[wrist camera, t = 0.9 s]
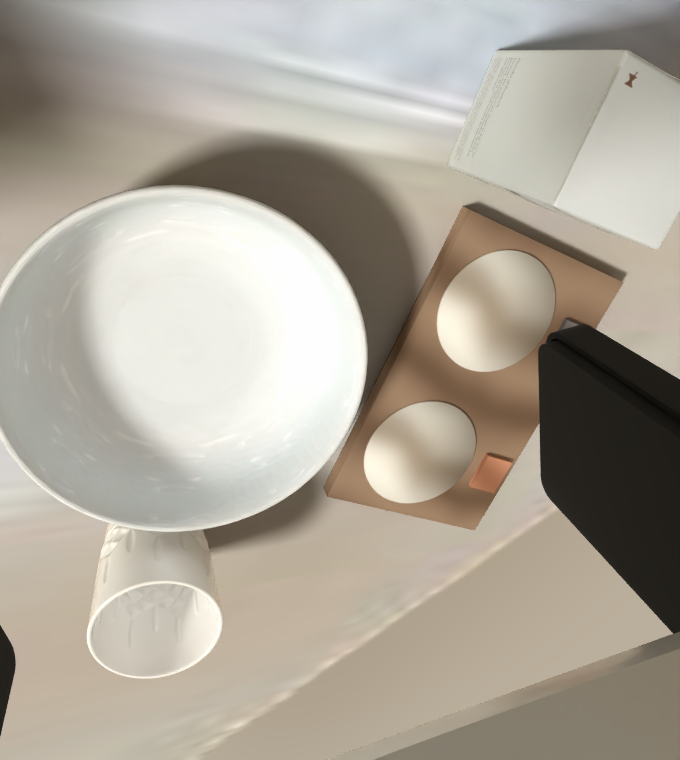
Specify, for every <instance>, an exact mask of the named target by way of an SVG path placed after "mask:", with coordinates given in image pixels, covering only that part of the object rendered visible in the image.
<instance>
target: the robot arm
mask: <svg viewBox="0 0 680 760" xmlns="http://www.w3.org/2000/svg"><path fill="white" fill-rule="evenodd" d="M538 375H539V418H540V461H541V481H542V485H543V488H544V490H545V492H546V494H547V496H548V497H549V498H550V500H551V501H552V502H553V503H554V504H555V505H556V506H557V507H558V508H559V509H560V511H561V512H562V513H563V514H564V515H565V516H566V517H567V518H568V519H569V520H570V521H571V523H572V524H573V525H574V526H575V527H576V528H577V529H578V530H579V531H580V532H581V533H582V535H583V536H584V537H585V538H586V539H587V540H588V541H589V542H590V543H591V544H592V545H593V547H594V548H595V549H596V550H597V551H598V552H599V553H600V554H601V555H602V556H603V557H604V559H606V561H607V562H608V563H609V564H610V565H611V566H612V567H613V568H614V569H615V570H616V572H617V573H618V574H619V575H620V576H621V577H622V578H623V579H624V580H625V581H626V582H627V584H628V585H629V586H630V587H631V588H632V589H633V590H634V591H635V592H636V593H637V594H638V596H639V597H640V598H641V599H642V600H643V601H644V602H645V603H646V604H647V605H648V606H649V608H650V609H651V610H652V611H653V612H654V613H655V614H656V615H657V616H658V617H659V618H660V620H662V622H663V623H664V624H665V625H666V626H667V627H668V628H669V629H670V630H671V632H672V633H673V634H672V635H669V636H666V637H663V638H661V639H658V640H655V641H652V642H650V643H647V644H644V645H641V646H639V647H636V648H633V649H630V650H627V651H624V652H622V653H619V654H616V655H614V656H611V657H608V658H605V659H602V660H600V661H597V662H594V663H591V664H588V665H586V666H583V667H580V668H577V669H574V670H572V671H569V672H566V673H563V674H561V675H558V676H555V677H552V678H550V679H547V680H544V681H541V682H539V683H536V684H533V685H530V686H527V687H525V688H522V689H519V690H516V691H513V692H511V693H508V694H505V695H502V696H500V697H497V698H494V699H491V700H488V701H486V702H483V703H480V704H477V705H475V706H472V707H469V708H466V709H464V710H461V711H458V712H456V713H453V714H450V715H447V716H445V717H442V718H439V719H436V720H434V721H431V722H428V723H426V724H423V725H420V726H417V727H415V728H412V729H409V730H406V731H404V732H401V733H398V734H396V735H393V736H390V737H387V738H384V739H382V740H379V741H377V742H374V743H371V744H368V745H366V746H363V747H360V748H357V749H354V750H352V751H349V752H346V753H344V754H341V755H338V756H336V757H333V758H330V759H327V760H680V379H678V378H676V377H675V376H673V375H671V374H670V373H668V372H666V371H665V370H663V369H661V368H660V367H658V366H656V365H654V364H653V363H651V362H649V361H648V360H646V359H644V358H643V357H641V356H639V355H638V354H636V353H634V352H633V351H631V350H629V349H628V348H626V347H624V346H623V345H621V344H619V343H618V342H616V341H614V340H613V339H611V338H609V337H608V336H606V335H604V334H603V333H601V332H599V331H597V330H596V329H594V328H592V327H591V326H589V325H586V324H581V325H577V326H574V327H570V328H566V329H563V330H559V331H556V332H552V333H550V334H549V335H548V337H547V339H546V343H545V344H542V345H541V346H540V347H539V350H538ZM15 666H16V663H15V653H14V650H13V647H12V645H11V642H10V641H9V639H8V637H7V636H6V634H5V632H4V631H3V629H2V627H1V626H0V735H1V731H2V726H3V722H4V717H5V713H6V708H7V704H8V700H9V695H10V691H11V686H12V682H13V677H14V673H15Z"/></svg>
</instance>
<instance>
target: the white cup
mask: <svg viewBox="0 0 680 760" xmlns="http://www.w3.org/2000/svg"><path fill="white" fill-rule="evenodd" d="M222 628H223V615H222V610H221V605H220V600H219V595H218V590H217V585H216V580H215V575H214V570H213V564H212V559H211V554H210V551H209V548H208V542H207V539H206V538H205V535H204V531H203V529H201V530H193V531H180V532H161V531H147V530H139V529H133V528H126V527H122V526H118V525H114V524H111V523H108V527H107V531H106V536H105V542H104V545H103V547H102V551H101V556H100V560H99V565H98V570H97V576H96V582H95V588H94V594H93V600H92V606H91V612H90V618H89V624H88V630H87V643H88V647H89V650H90V652H91V654H92V655H93V657H94V658H95V659H96V660H97V662H99V663H100V664H101V665H102V666H103V667H105V668H106V669H108V670H110V671H112V672H114V673H116V674H119V675H122V676H126V677H132V678H158V677H164V676H168V675H172V674H175V673H178V672H181V671H183V670H185V669H187V668H189V667H191V666H193V665H195V664H196V663H198V662H199V661H200V660H202V659H203V658H204V657H205V656H206V655H207V654H208V653H209V652H210V651H211V650H212V649H213V648H214V646H215V645H216V643H217V642H218V640H219V638H220V635H221V632H222Z"/></svg>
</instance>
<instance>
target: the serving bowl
mask: <svg viewBox="0 0 680 760" xmlns="http://www.w3.org/2000/svg"><path fill="white" fill-rule="evenodd" d="M367 364H368V345H367V336H366V329H365V324H364V319H363V315H362V312H361V309H360V305H359V303H358V300H357V297H356V295H355V293H354V290H353V288H352V286H351V284H350V282H349V281H348V279H347V277H346V275H345V274H344V272H343V271H342V269H341V268H340V266H339V265H338V263H337V262H336V260H335V259H334V258H333V257H332V255H331V254H330V253H329V252H328V251H327V249H326V248H325V247H324V246H323V245H322V244H321V243H320V242H319V241H318V240H317V239H316V238H315V237H314V236H312V235H311V234H310V233H309V232H308V231H307V230H305V229H304V228H303V227H302V226H300V225H299V224H297V223H296V222H295V221H293V220H292V219H291V218H289V217H287V216H286V215H284V214H283V213H281V212H279V211H277V210H275V209H274V208H271V207H269V206H267V205H265V204H263V203H260V202H258V201H256V200H253V199H250V198H247V197H244V196H241V195H238V194H235V193H231V192H227V191H223V190H219V189H213V188H207V187H200V186H191V185H162V186H151V187H143V188H138V189H133V190H128V191H124V192H121V193H117V194H114V195H111V196H108V197H105V198H102V199H100V200H97V201H95V202H92V203H90V204H88V205H86V206H84V207H82V208H80V209H78V210H76V211H74V212H73V213H71V214H69V215H68V216H66V217H64V218H63V219H61V220H60V221H58V222H57V223H56V224H54V225H53V226H52V227H50V228H49V229H48V230H46V231H45V232H44V233H43V234H42V235H40V236H39V237H38V238H37V239H36V240H35V241H34V242H33V243H32V244H31V245H30V246H29V247H28V248H27V249H26V250H25V252H24V253H23V254H22V255H21V256H20V258H19V259H18V260H17V261H16V263H15V264H14V265H13V266H12V268H11V269H10V271H9V273H8V274H7V276H6V277H5V279H4V280H3V282H2V284H1V286H0V439H1V441H2V443H3V444H4V446H5V447H6V449H7V451H8V452H9V453H10V455H11V456H12V457H13V459H14V460H15V461H16V463H17V464H18V465H19V466H20V467H21V469H22V470H23V471H24V472H25V473H26V474H27V475H28V476H29V477H30V478H31V479H32V480H33V481H34V482H35V483H36V484H38V485H39V486H40V487H41V488H43V489H44V490H45V491H46V492H48V493H49V494H51V495H52V496H53V497H55V498H56V499H57V500H59V501H61V502H62V503H64V504H66V505H67V506H69V507H71V508H73V509H75V510H77V511H79V512H81V513H83V514H85V515H88V516H91V517H93V518H96V519H99V520H101V521H104V522H107V523H111V524H114V525H118V526H122V527H126V528H133V529H139V530H147V531H161V532H180V531H193V530H201V529H208V528H213V527H217V526H222V525H226V524H229V523H233V522H236V521H239V520H242V519H244V518H247V517H250V516H252V515H255V514H257V513H259V512H261V511H264V510H266V509H268V508H269V507H271V506H273V505H275V504H277V503H279V502H280V501H282V500H284V499H285V498H287V497H288V496H289V495H291V494H292V493H294V492H295V491H297V490H298V489H299V488H301V487H302V486H303V485H304V484H305V483H306V482H307V481H309V480H310V479H311V478H312V477H313V476H314V475H315V474H316V473H317V472H318V471H319V470H320V469H321V468H322V467H323V466H324V465H325V464H326V462H327V461H328V460H329V459H330V458H331V457H332V455H333V454H334V453H335V451H336V450H337V448H338V447H339V446H340V444H341V442H342V441H343V439H344V438H345V436H346V434H347V432H348V431H349V429H350V427H351V425H352V423H353V421H354V418H355V416H356V414H357V411H358V408H359V405H360V402H361V399H362V395H363V392H364V387H365V381H366V374H367Z"/></svg>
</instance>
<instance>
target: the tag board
mask: <svg viewBox="0 0 680 760" xmlns="http://www.w3.org/2000/svg"><path fill="white" fill-rule="evenodd" d="M622 284H623V282H621V281H619V280H617V279H615V278H613V277H611V276H609V275H607V274H605V273H603V272H600V271H598V270H596V269H594V268H592V267H590V266H588V265H586V264H584V263H581V262H579V261H577V260H575V259H573V258H571V257H569V256H567V255H565V254H563V253H560V252H558V251H556V250H554V249H552V248H550V247H548V246H546V245H544V244H541V243H539V242H537V241H535V240H533V239H531V238H529V237H527V236H525V235H522V234H520V233H518V232H516V231H514V230H512V229H510V228H508V227H506V226H503V225H501V224H499V223H497V222H495V221H493V220H491V219H489V218H487V217H485V216H482V215H480V214H478V213H476V212H474V211H472V210H470V209H468V208H466V207H462V209H461V211H460V213H459V215H458V217H457V219H456V221H455V223H454V225H453V227H452V229H451V231H450V233H449V235H448V237H447V239H446V241H445V243H444V245H443V247H442V249H441V251H440V253H439V255H438V257H437V259H436V261H435V263H434V266H433V268H432V270H431V272H430V274H429V276H428V278H427V280H426V282H425V284H424V286H423V288H422V290H421V292H420V294H419V296H418V298H417V300H416V302H415V304H414V306H413V308H412V310H411V312H410V314H409V316H408V318H407V320H406V322H405V324H404V326H403V328H402V330H401V332H400V334H399V336H398V338H397V340H396V342H395V344H394V346H393V348H392V350H391V352H390V354H389V356H388V358H387V360H386V362H385V364H384V366H383V368H382V370H381V373H380V375H379V377H378V379H377V381H376V383H375V385H374V387H373V389H372V391H371V393H370V395H369V397H368V399H367V401H366V403H365V405H364V407H363V409H362V411H361V413H360V415H359V417H358V419H357V421H356V423H355V425H354V427H353V429H352V431H351V433H350V435H349V437H348V439H347V441H346V443H345V445H344V447H343V449H342V451H341V453H340V455H339V457H338V459H337V461H336V463H335V465H334V467H333V469H332V471H331V473H330V475H329V478H328V480H327V482H326V484H325V486H324V490H325V492H326V494H327V497H332V498H336V499H340V500H345V501H349V502H353V503H358V504H362V505H367V506H371V507H375V508H380V509H384V510H388V511H393V512H397V513H401V514H406V515H410V516H415V517H419V518H423V519H428V520H432V521H436V522H441V523H445V524H449V525H454V526H458V527H463V528H467V529H471V530H475V529H476V527H477V526H478V524H479V522H480V521H481V519H482V517H483V516H484V514H485V512H486V511H487V509H488V507H489V506H490V504H491V502H492V501H493V499H494V497H495V496H496V494H497V492H498V491H499V489H500V487H501V486H502V484H503V482H504V481H505V479H506V477H507V476H508V474H509V472H510V471H511V469H512V467H513V466H514V464H515V462H516V460H517V459H518V457H519V455H520V454H521V452H522V450H523V449H524V447H525V445H526V444H527V442H528V440H529V439H530V437H531V435H532V434H533V432H534V430H535V429H536V427H537V425H538V424H539V422H540V418H539V375H538V350H539V347H540V346H541V345H542V344H545V343H546V339H547V337H548V335H549V334H550V333H552V332H556V331H559V330H563V329H566V328H570V327H574V326H577V325H581V324H586V325H589V326H591V327H592V328H594V329H596V327H597V325H598V324H599V322H600V320H601V319H602V317H603V315H604V314H605V312H606V310H607V309H608V307H609V305H610V304H611V302H612V300H613V299H614V297H615V295H616V294H617V292H618V290H619V289H620V287H621V285H622Z"/></svg>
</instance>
